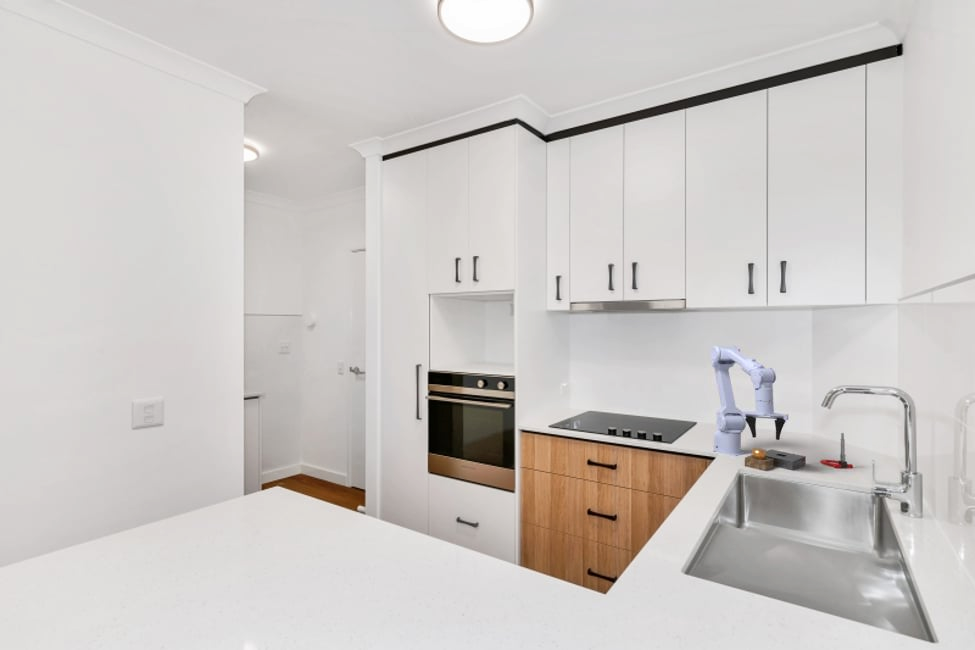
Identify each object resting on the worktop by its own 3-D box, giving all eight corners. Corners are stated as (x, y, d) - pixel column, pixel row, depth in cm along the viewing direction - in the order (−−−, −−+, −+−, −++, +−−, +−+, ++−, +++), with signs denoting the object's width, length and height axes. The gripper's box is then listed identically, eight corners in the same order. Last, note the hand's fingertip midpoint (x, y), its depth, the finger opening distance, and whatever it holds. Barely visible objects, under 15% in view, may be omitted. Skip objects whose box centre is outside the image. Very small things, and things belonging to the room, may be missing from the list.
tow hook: (815, 462, 185) (833, 468, 176) (815, 429, 186) (833, 433, 177) (836, 462, 185) (855, 468, 176) (836, 429, 186) (855, 433, 177)
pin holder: (744, 466, 176) (744, 457, 176) (753, 463, 181) (753, 454, 181) (764, 471, 171) (764, 462, 171) (773, 468, 175) (773, 458, 175)
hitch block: (757, 463, 181) (757, 454, 181) (771, 458, 189) (771, 449, 189) (792, 471, 172) (792, 461, 172) (805, 465, 179) (805, 456, 179)
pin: (749, 466, 176) (750, 449, 176) (755, 464, 179) (755, 447, 179) (762, 469, 173) (762, 452, 173) (768, 467, 175) (768, 450, 175)
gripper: (739, 400, 177) (740, 437, 176) (784, 402, 167) (786, 441, 166) (745, 399, 182) (746, 435, 181) (789, 401, 172) (790, 439, 171)
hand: (765, 438), depth 174 cm, fingers open, 7 cm apart
